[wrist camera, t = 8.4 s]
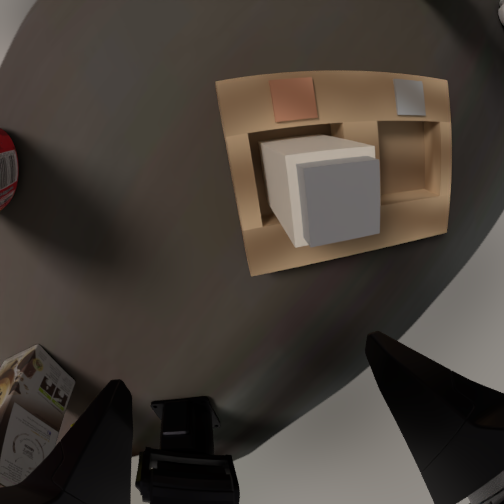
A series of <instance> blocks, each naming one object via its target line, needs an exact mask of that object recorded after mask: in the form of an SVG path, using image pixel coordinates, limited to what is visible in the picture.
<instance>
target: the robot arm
mask: <svg viewBox="0 0 504 504" xmlns="http://www.w3.org/2000/svg"><path fill="white" fill-rule="evenodd" d="M365 353H366V356H367V359H368V362H369V364H370V367H371V369H372V372H373V374H374V377H375V380H376V382H377V384H378V387H379V389H380V391H381V393H382V395H383V397H384V399H385V401H386V403H387V405H388V407H389V408H390V411H391V413H392V415H393V417H394V419H395V421H396V422H397V425H398V426H399V428H400V431H401V433H402V434H403V437H404V439H405V441H406V443H407V445H408V447H409V449H410V451H411V453H412V455H413V457H414V459H415V461H416V464H417V466H418V468H419V470H420V472H421V475H422V477H423V479H424V481H425V483H426V485H427V488H428V490H429V492H430V495H431V497H432V499H433V501H434V504H456V503H458V502H460V501H461V500H463V499H464V498H466V497H468V498H469V500H470V502H471V503H469V504H504V393H501V392H499V391H496V390H494V389H491V388H488V387H486V386H483V385H481V384H478V383H476V382H474V381H471V380H469V379H467V378H465V377H463V376H461V375H459V374H457V373H456V372H454V371H451V370H450V369H448V368H446V367H444V366H442V365H441V364H439V363H437V362H435V361H433V360H431V359H429V358H428V357H426V356H424V355H422V354H420V353H418V352H416V351H414V350H412V349H411V348H409V347H407V346H405V345H403V344H402V343H400V342H398V341H396V340H394V339H392V338H391V337H389V336H387V335H385V334H383V333H381V332H379V331H375V332H372V333H369V334H368V335H367V341H366V347H365ZM151 408H152V409H153V410H154V412H155V413H156V414H157V416H158V417H159V418H160V420H161V432H160V448H159V449H152V448H151V447H146V450H145V451H144V452H140V454H139V464H138V471H137V476H136V482H135V486H136V488H137V489H138V490H139V491H140V492H141V495H142V499H143V502H148V503H150V504H239V498H240V497H239V496H240V492H239V484H238V480H237V476H236V472H235V468H234V464H233V460H232V456H231V455H214V442H213V428H219V427H220V426H221V425H220V421H219V419H218V417H217V415H216V413H215V411H214V410H213V408H212V406H211V404H210V402H209V400H208V398H207V397H195V398H187V399H177V400H166V401H153V402H151ZM132 440H133V419H132V395H131V393H130V391H129V390H128V388H127V387H126V385H125V384H124V382H123V381H122V380H120V379H118V380H111V381H110V382H109V383H108V384H107V385H106V387H105V388H104V389H103V390H102V391H101V392H100V394H99V395H98V396H97V397H96V398H95V399H94V401H93V402H92V403H91V404H90V405H89V407H88V408H87V409H86V410H85V411H84V413H83V414H82V415H81V416H80V417H79V419H78V420H77V421H76V422H75V423H74V425H73V426H72V427H71V428H70V429H69V431H68V432H67V433H66V434H65V436H64V437H63V438H62V439H61V442H59V443H58V444H57V445H56V446H55V448H54V449H53V450H52V451H51V452H50V454H49V455H48V456H47V457H46V458H45V459H44V460H43V461H42V462H41V463H40V464H39V465H38V466H37V467H36V468H35V469H34V470H33V471H32V472H31V473H30V474H29V475H28V476H27V477H26V478H25V479H24V480H23V481H22V482H20V483H18V484H16V485H12V486H6V487H0V504H130V493H131V492H130V491H131V458H132ZM151 468H152V469H151Z"/></svg>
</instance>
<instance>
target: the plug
mask: <svg viewBox="0 0 504 504" xmlns="http://www.w3.org/2000/svg"><path fill="white" fill-rule="evenodd" d="M258 145H259V151H260V157H261V164H262V171H263V177H264V184H265V191H266V198H267V203H268V204H269V206H270V207H271V209H272V211H273V212H274V214H275V215H276V217H277V219H278V220H279V222H280V223H281V225H282V227H283V228H284V230H285V232H286V233H287V235H288V236H289V238H290V240H291V241H292V243H293V245H294V246H295V248H297V247H302V246H307V245H309V246H310V247H316V246H321V245H326V244H331V243H336V242H340V241H345V240H350V239H355V238H360V237H365V236H370V235H374V234H379V233H380V164H379V159H376V158H375V146H372V145H368V144H364V143H360V142H356V141H351V140H347V139H342V138H337V137H332V136H327V135H322V134H315V135H305V136H296V137H288V138H281V139H273V140H266V141H260V142H258Z"/></svg>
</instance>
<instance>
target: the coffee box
mask: <svg viewBox="0 0 504 504" xmlns="http://www.w3.org/2000/svg"><path fill="white" fill-rule="evenodd" d="M74 385H75V380H74V379H73V378H72V377H70V376H69V375H68V374H67V373H66V372H65V371H64V370H63V369H62V368H61V367H60V366H59V365H58V364H57V363H56V362H55V361H54V360H53V359H52V358H51V357H50V356H49V355H48V353H47V352H46V351H45V350H44V349H43V348H42V347H41V346H40V345H38V344H37V345H35V346H33V347H31V348H29V349H27V350H25V351H23V352H21V353H19V354H17V355H15V356H12V357H10V358H8V359H6V360H5V361H4V363H3V365H2V366H1V368H0V487H6V486H12V485H16V484H18V483H20V482H22V481H23V480H24V479H25V478H26V477H27V476H28V475H29V474H30V473H31V472H32V471H33V470H34V469H35V468H36V467H37V466H38V465H39V464H40V463H41V462H42V461H43V460H44V459H45V458H46V457H47V456H48V455H49V454H50V452H51V451H52V450H53V449H54V448H55V445H56V441H57V438H58V434H59V430H60V427H61V424H62V420H63V417H64V414H65V411H66V408H67V405H68V402H69V399H70V396H71V393H72V390H73V388H74Z"/></svg>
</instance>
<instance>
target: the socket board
mask: <svg viewBox="0 0 504 504" xmlns="http://www.w3.org/2000/svg"><path fill="white" fill-rule="evenodd" d="M215 87H216V93H217V98H218V104H219V110H220V115H221V121H222V126H223V132H224V137H225V143H226V148H227V154H228V159H229V165H230V170H231V176H232V181H233V187H234V192H235V197H236V203H237V208H238V214H239V219H240V224H241V230H242V235H243V241H244V246H245V251H246V257H247V261H248V265H249V269H250V273H251V276H256V275H261V274H266V273H271V272H276V271H280V270H285V269H290V268H295V267H299V266H304V265H309V264H313V263H318V262H322V261H327V260H332V259H336V258H341V257H345V256H350V255H354V254H358V253H363V252H367V251H372V250H376V249H380V248H385V247H389V246H393V245H397V244H402V243H406V242H410V241H414V240H418V239H422V238H426V237H431V236H435V235H439V234H443V233H447V225H448V215H449V205H450V191H451V168H452V139H451V116H450V103H449V92H448V84H447V80H442V79H436V78H430V77H423V76H416V75H407V74H398V73H386V72H371V71H302V72H287V73H275V74H265V75H256V76H248V77H241V78H234V79H227V80H221V81H216V85H215ZM315 134H322V135H327V136H332V137H337V138H342V139H347V140H351V141H356V142H360V143H364V144H368V145H372V146H375V158H376V159H379V164H380V233H379V234H374V235H370V236H365V237H360V238H355V239H350V240H345V241H340V242H336V243H331V244H326V245H321V246H316V247H310V246H309V245H307V246H302V247H297V248H295V246H294V245H293V243H292V241H291V240H290V238H289V236H288V235H287V233H286V232H285V230H284V228H283V227H282V225H281V223H280V222H279V220H278V219H277V217H276V215H275V214H274V212H273V211H272V209H271V207H270V206H269V204H268V203H267V198H266V191H265V184H264V177H263V171H262V164H261V157H260V151H259V145H258V142H260V141H266V140H273V139H281V138H288V137H296V136H305V135H315Z"/></svg>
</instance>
